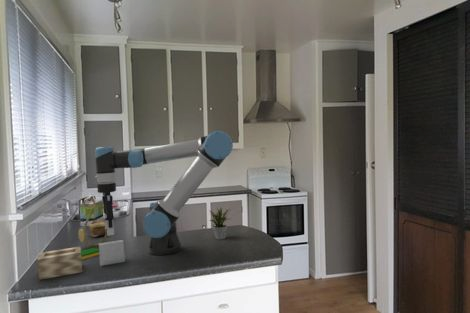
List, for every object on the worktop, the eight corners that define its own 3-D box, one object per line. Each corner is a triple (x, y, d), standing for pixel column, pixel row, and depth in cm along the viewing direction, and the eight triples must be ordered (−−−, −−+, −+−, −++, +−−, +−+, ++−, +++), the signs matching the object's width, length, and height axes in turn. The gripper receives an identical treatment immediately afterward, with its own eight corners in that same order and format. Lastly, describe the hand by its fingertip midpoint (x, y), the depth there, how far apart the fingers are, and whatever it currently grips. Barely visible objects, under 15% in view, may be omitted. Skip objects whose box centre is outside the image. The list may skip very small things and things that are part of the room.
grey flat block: (124, 259, 161) (122, 239, 161) (124, 261, 159) (123, 241, 158) (100, 264, 157) (98, 243, 157) (100, 266, 155) (98, 245, 154)
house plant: (240, 239, 183) (238, 207, 182) (213, 243, 178) (211, 210, 177) (230, 233, 196) (228, 203, 196) (205, 237, 192) (203, 206, 191)
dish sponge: (102, 254, 173) (101, 249, 173) (74, 263, 162) (73, 257, 162) (94, 252, 177) (93, 247, 177) (66, 260, 167) (65, 255, 166)
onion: (92, 242, 206) (82, 228, 204) (100, 234, 215) (91, 220, 212) (105, 237, 203) (95, 222, 201) (113, 228, 212) (104, 214, 210)
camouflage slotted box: (81, 264, 158) (80, 246, 158) (82, 271, 148) (80, 252, 148) (41, 271, 152) (39, 252, 151) (39, 279, 142) (37, 259, 142)
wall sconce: (86, 250, 179) (82, 200, 178) (78, 247, 186) (74, 199, 185) (112, 243, 189) (109, 196, 188) (104, 241, 196) (100, 194, 195)
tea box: (95, 226, 236) (94, 203, 235) (80, 226, 236) (78, 204, 235) (104, 220, 251) (102, 199, 250) (89, 221, 251) (88, 200, 250)
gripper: (95, 181, 167) (98, 227, 167) (98, 186, 144) (102, 239, 145) (112, 179, 170) (115, 224, 170) (118, 184, 147) (121, 236, 148)
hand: (109, 231), depth 157 cm, fingers open, 13 cm apart
